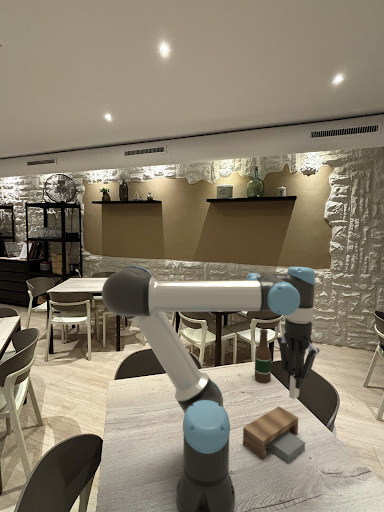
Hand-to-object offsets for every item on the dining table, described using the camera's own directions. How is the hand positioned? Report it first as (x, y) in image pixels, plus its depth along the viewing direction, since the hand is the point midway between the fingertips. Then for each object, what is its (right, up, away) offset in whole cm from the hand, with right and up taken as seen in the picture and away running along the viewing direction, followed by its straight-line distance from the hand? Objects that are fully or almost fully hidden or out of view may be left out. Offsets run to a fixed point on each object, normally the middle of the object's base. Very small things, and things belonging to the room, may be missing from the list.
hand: (294, 396), depth 87 cm
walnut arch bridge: (-4, -19, +11) cm, 22 cm away
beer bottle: (+3, -16, +50) cm, 53 cm away
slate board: (-1, -20, +7) cm, 22 cm away
